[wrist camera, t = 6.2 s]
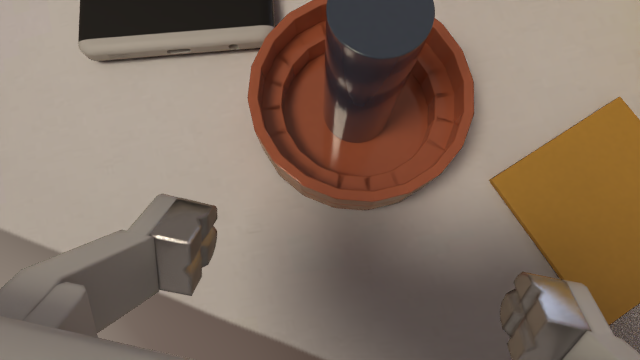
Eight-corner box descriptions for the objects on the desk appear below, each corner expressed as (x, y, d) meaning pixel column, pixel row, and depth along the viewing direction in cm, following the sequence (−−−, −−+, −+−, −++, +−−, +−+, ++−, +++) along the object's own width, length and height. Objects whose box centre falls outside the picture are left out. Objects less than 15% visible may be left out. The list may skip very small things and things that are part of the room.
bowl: (490, 144, 27) (520, 124, 23) (324, 249, 25) (325, 246, 21) (381, -2, 29) (391, -44, 25) (223, 85, 28) (208, 56, 24)
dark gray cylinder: (401, 122, 27) (457, 24, 16) (346, 155, 26) (365, 77, 15) (365, 70, 27) (395, -56, 17) (310, 102, 27) (305, -8, 16)
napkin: (729, 234, 26) (735, 234, 25) (597, 330, 24) (601, 331, 24) (615, 98, 28) (620, 96, 27) (488, 180, 26) (491, 179, 26)
